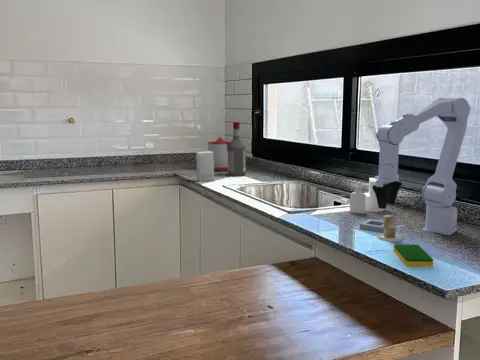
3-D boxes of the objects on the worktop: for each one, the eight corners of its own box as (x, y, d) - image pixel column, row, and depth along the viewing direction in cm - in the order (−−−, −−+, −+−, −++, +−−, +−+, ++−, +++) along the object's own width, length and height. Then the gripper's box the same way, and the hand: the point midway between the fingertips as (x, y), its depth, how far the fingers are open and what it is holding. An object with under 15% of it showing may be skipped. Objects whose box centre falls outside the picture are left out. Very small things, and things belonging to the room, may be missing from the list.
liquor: (230, 177, 281) (230, 123, 276) (227, 174, 290) (226, 122, 285) (246, 176, 284) (246, 122, 278) (242, 173, 292) (242, 121, 287)
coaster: (406, 238, 161) (406, 235, 161) (397, 244, 155) (397, 241, 155) (382, 234, 166) (382, 231, 166) (372, 239, 159) (372, 237, 159)
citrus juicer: (226, 172, 296) (225, 138, 293) (202, 170, 306) (201, 137, 302) (240, 169, 309) (240, 136, 306) (217, 167, 319) (217, 135, 315)
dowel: (397, 236, 160) (398, 216, 159) (392, 238, 158) (393, 218, 157) (386, 234, 163) (387, 214, 162) (381, 236, 160) (382, 216, 159)
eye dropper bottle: (356, 211, 198) (356, 181, 196) (366, 213, 194) (367, 183, 192) (347, 212, 196) (348, 182, 194) (358, 215, 191) (359, 184, 189)
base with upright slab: (385, 212, 196) (386, 181, 194) (361, 211, 198) (362, 181, 196) (383, 207, 205) (384, 178, 203) (360, 206, 207) (361, 177, 205)
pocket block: (397, 228, 173) (398, 222, 172) (386, 234, 165) (387, 229, 164) (364, 223, 180) (365, 217, 179) (352, 229, 172) (352, 223, 172)
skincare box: (211, 179, 275) (210, 150, 272) (214, 181, 268) (214, 152, 266) (196, 180, 272) (195, 151, 269) (199, 182, 266) (198, 152, 263)
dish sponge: (417, 252, 148) (418, 244, 148) (433, 268, 135) (433, 259, 134) (393, 252, 149) (393, 244, 148) (406, 268, 135) (406, 259, 135)
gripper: (384, 160, 165) (382, 200, 168) (367, 165, 154) (365, 208, 156) (406, 161, 161) (403, 203, 164) (389, 167, 150) (387, 211, 152)
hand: (386, 206), depth 160 cm, fingers open, 7 cm apart
